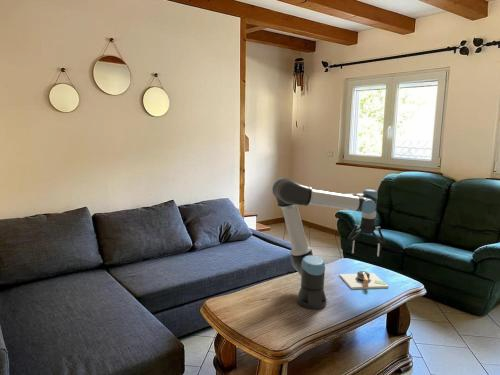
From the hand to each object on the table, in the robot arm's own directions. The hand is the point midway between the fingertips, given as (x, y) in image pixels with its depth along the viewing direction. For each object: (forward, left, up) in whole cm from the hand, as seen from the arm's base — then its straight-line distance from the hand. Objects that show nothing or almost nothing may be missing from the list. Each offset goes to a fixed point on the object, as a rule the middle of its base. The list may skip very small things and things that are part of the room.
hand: (365, 254), depth 205 cm
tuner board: (+3, +7, -20) cm, 21 cm away
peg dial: (+2, +3, -18) cm, 18 cm away
